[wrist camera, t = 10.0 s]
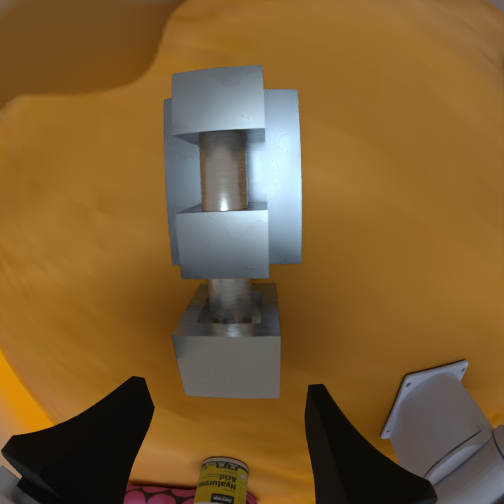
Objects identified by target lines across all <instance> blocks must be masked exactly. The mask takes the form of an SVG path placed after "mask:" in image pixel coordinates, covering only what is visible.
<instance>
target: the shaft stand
mask: <svg viewBox="0 0 504 504" xmlns="http://www.w3.org/2000/svg"><path fill="white" fill-rule="evenodd" d="M164 156H165V181H166V198H167V212H168V224H169V235H170V245H171V255H172V264H173V265H180V268H181V277H182V279H207V281H208V292H209V302H210V312H211V321H212V323H218V324H246V323H252V297H251V278H269V264H297V263H301V246H302V197H301V153H300V128H299V109H298V93H297V90H287V89H273V90H264V89H263V69H262V65H252V66H235V67H219V68H212V69H204V70H196V71H189V72H183V73H177V74H172V98H170V99H164Z"/></svg>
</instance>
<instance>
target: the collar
mask: <svg viewBox="0 0 504 504" xmlns="http://www.w3.org/2000/svg"><path fill="white" fill-rule="evenodd" d="M251 297H252V323H246V324H218V323H212V321H211V312H210V302H209V292H208V284H200V286H199V288H198V289H197V291H196V293H195V294H194V296H193V298H192V300H191V301H190V303H189V305H188V307H187V308H186V310H185V312H184V314H183V315H182V317H181V319H180V321H179V323H178V324H177V326H176V328H175V330H174V331H173V333H172V340H173V344H174V349H175V354H176V358H177V362H178V367H179V371H180V375H181V379H182V383H183V387H184V391H185V394H186V395H188V396H200V397H217V398H280V354H281V334H280V322H279V311H278V300H277V290H276V283H260V284H251Z"/></svg>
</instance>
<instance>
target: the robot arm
mask: <svg viewBox="0 0 504 504" xmlns="http://www.w3.org/2000/svg"><path fill="white" fill-rule="evenodd" d="M467 366H468V361H467V360H464V361H461V362H457V363H454V364H450V365H447V366H443V367H439V368H435V369H431V370H427V371H423V372H418V373H414V374H409V375H407V376H406V377H405V378H404V380H403V383H402V386H401V389H400V391H399V394H398V396H397V399H396V402H395V404H394V406H393V409H392V411H391V414H390V416H389V418H388V421H387V423H386V425H385V427H384V429H383V431H382V434H381V438H382V439H386V438H390V441H391V444H392V446H393V449H394V452H395V454H396V457H397V460H398V463H399V465H400V466H399V465H398V464H396V463H395V462H393V461H392V460H390V459H389V458H387V457H386V456H385V455H383V454H382V453H381V452H379V451H378V450H377V449H376V448H375V447H373V446H372V445H371V444H370V443H369V442H368V441H367V440H366V439H365V438H364V437H363V436H362V435H361V434H360V433H359V432H358V431H357V430H356V429H355V427H354V426H353V425H352V424H351V423H350V422H349V420H348V419H347V418H346V417H345V415H344V414H343V413H342V411H341V410H340V409H339V407H338V406H337V404H336V403H335V401H334V400H333V398H332V397H331V395H330V394H329V392H328V390H327V389H326V387H325V385H323V384H315V385H308V393H307V401H306V408H305V430H306V438H307V443H308V449H309V454H310V459H311V464H312V469H313V474H314V482H315V498H316V504H504V425H502V424H501V425H499V426H498V427H497V428H493V426H492V425H491V423H490V422H489V420H488V419H487V418H486V416H485V415H484V413H483V412H482V410H481V409H480V408H479V406H478V405H477V404H476V402H475V401H474V399H473V398H472V397H471V395H470V394H469V393H468V391H467V390H466V389H465V387H464V386H463V385H462V383H461V380H462V378H463V375H464V373H465V371H466V369H467ZM154 408H155V407H154V405H153V402H152V399H151V396H150V393H149V390H148V388H147V385H146V382H145V378H142V377H136V376H132V377H131V378H129V379H128V380H127V381H125V382H124V383H123V384H122V385H120V386H119V387H118V388H116V389H115V390H114V391H113V392H111V393H110V394H109V395H107V396H106V397H105V398H103V399H102V400H101V401H99V402H98V403H96V404H95V405H93V406H92V407H90V408H89V409H87V410H86V411H84V412H82V413H81V414H79V415H77V416H75V417H73V418H71V419H69V420H67V421H65V422H63V423H60V424H58V425H55V426H53V427H50V428H47V429H44V430H40V431H36V432H32V433H27V434H21V435H13V436H12V437H11V438H10V440H9V441H8V442H7V443H6V445H5V446H4V448H3V449H2V450H1V452H2V454H3V456H4V457H5V459H6V460H7V461H8V462H9V463H10V464H11V465H12V466H13V467H14V468H15V469H16V470H17V471H18V472H19V473H20V474H21V475H22V478H21V479H19V478H18V477H16V476H15V475H14V474H13V473H12V472H10V471H9V470H8V469H6V468H5V467H4V466H1V467H0V504H123V503H124V497H125V493H126V488H127V484H128V480H129V476H130V472H131V469H132V466H133V463H134V460H135V458H136V456H137V454H138V451H139V449H140V447H141V445H142V442H143V440H144V438H145V436H146V433H147V431H148V429H149V426H150V423H151V420H152V416H153V412H154ZM501 498H502V499H501ZM496 502H497V503H496Z"/></svg>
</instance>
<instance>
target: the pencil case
mask: <svg viewBox="0 0 504 504" xmlns="http://www.w3.org/2000/svg"><path fill="white" fill-rule="evenodd" d="M195 494H196V490H183V489H173V488H163V487H153V486H134V485H127V488H126V493H125V497H124V503H123V504H193V503H194V498H195ZM246 504H258V503H257V501H256V500H255V499H254V498H253V496H252V495H251V494H250V493H249V492H247V494H246Z"/></svg>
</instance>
